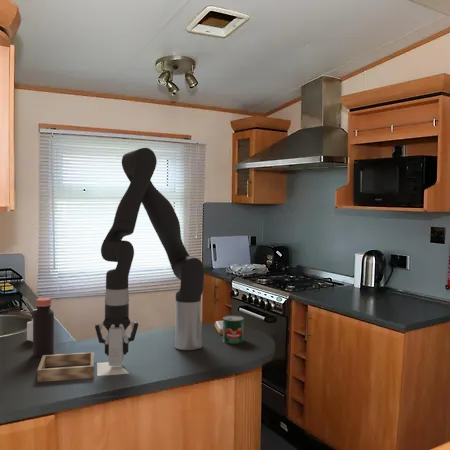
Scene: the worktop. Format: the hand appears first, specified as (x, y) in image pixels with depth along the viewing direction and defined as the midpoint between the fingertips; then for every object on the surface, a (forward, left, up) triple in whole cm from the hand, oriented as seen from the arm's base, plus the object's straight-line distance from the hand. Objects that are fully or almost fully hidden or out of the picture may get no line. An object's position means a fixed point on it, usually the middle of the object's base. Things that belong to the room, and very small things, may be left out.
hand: (116, 354), depth 148 cm
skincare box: (0, 0, -3) cm, 3 cm away
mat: (0, 0, -5) cm, 5 cm away
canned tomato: (-44, -16, -5) cm, 47 cm away
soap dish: (-46, -30, -5) cm, 56 cm away
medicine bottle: (+27, -40, -5) cm, 48 cm away
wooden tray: (+15, 0, -5) cm, 16 cm away
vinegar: (+24, -19, -5) cm, 31 cm away
